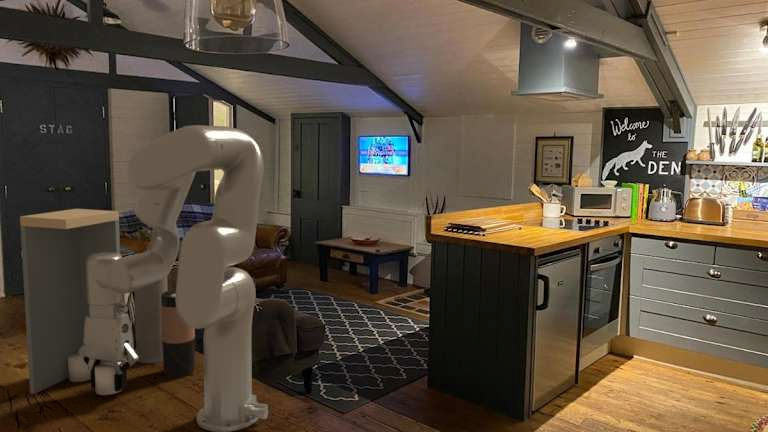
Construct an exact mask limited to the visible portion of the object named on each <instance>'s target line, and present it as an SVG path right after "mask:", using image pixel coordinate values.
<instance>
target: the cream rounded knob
mask: <svg viewBox="0 0 768 432" xmlns="http://www.w3.org/2000/svg"><path fill="white" fill-rule="evenodd" d="M68 374H69V377H68V381H70V382H72V383H79V382H80V383H81V382H82V383H83V382H87V381H89V380H90V381H91V370H88V365H87V364H86V363H85V361H84V358H82V357H81V356H80V355H79V353H78V352H76V353H73V354H70V355H69V356H68Z"/></svg>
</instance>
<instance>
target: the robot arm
mask: <svg viewBox="0 0 768 432" xmlns="http://www.w3.org/2000/svg"><path fill="white" fill-rule="evenodd" d="M264 163H265V162H264V158H263V154H262V151H261V148H260V146H259V145H258V144H257V141H256V140H255V139H254V138H252V137H251V135H249V134H248V133H246V132H245V131H243V130H241V129H239V128H235V127H230V126H226V125H225V126H223V125H201V124H200V125H199V124H198V125H195V124H193V125H185V126H182V127H181V128H178V129H174V130H173V131H171V132H169V133H166V134H165V135H162V136H161V137H158V138H156V139H154V140H152V141H149V142H148V143H146V144H143V145H141V146H140V147H139V148H137V149H136V150H135V151H134V152H133V153H132V155H131V156H130V158H129V160H128V164H127V169H126V170H127V176H128V179H129V181H130V182H131V183H132V185H133V186H135V187H136V188H137V189H140V190H141V192H140V194H139V197H138V198H137V202H136V205H135V207H134V214H135V216H136V218H137V219H138V220H139V221H141V222H142V223H143V224H145V225H147V226H149V227H151V228H152V235H151V239H150V241H149V244H148V246H147V249H146V251H145V252H140V253H136V254H132V255H129V256H125V257H123V256H122V255H121V253H120V254H118V253H111V252H105V253H96V254H92V255H90V256H89V257H87V259H86V288H87V313H88V314H87V315H86V318H85V324H84V335H83V346H82V347H81V348H80V349H79V351H78V353H79V355H80V356H81V357H82V358H84V361H85V363H86V364H87V365H88V370H91V379H90V387H91V388H93V389H94V388H95V366H97V365H99V364H101V362H102V360H105V361H112V362H113V363H114V366H115V369H116V372H117V374H115V375H114V381H115V391H117V392H118V393H120V392H121V391H123V390H124V389H125V388H127V386H128V373H127V372H128V371H129V370H130V369H131V368H132V366H133V365H134V364H135V363H137V362H138V359H139V358H138V356H137V353H136V352H135V347H134V346H135V344H134V342H135V341H134V334H133V327H132V322H131V319H130V316H129V314H128V313H127V312H128V310H129V306H127V305H126V300H125V299H126V297H125V296H126V295H125V294H130V293H135V292H134V291H137V290H140V289H142V288H145V287H149V286H152V285H155V284H158V283H160V282H161V281H163V280H164V279H165V278H166V277H167V278H168V275H169V274H170V272H171V271H172V268H173V267H174V266H173V265H174V264H175V261H176V259H177V257H178V265H177V272H176V273H177V275H176V284H175V292H176V297H175V300H176V309H177V312H178V315H179V317H180V318H181V320H182V321H183V322H184V323H185V324H186V325H188V326H190V327H192V328H195V329H198V330H199V329H204V331H203V341H202V342H203V347H202V348H203V389H204V390H203V391H204V392H203V394H204V396H203V399H204V406H203V408H201V409H200V410H199V411H198V412H197V414H196V423H197V425H198V426H199V427H200V428H202V429H203V430H207V431H210V432H236V431H240V430H242V429H246V428H248V427H250V426H252V425H253V424H255V423H256V422H257V421H258V420H259V419H262V420H263V419H264V420H266V419H267V418H268V416H269V406H268V404H265V403H259V402H258V401H257V395H256V394H253V393H252V391H253V388H252V387H253V384H252V383H253V381H252V379H253V378H252V374H253V372H252V369H253V368H252V342H253V341H252V337H253V336H252V330H253V329H252V328H253V326H252V325H253V316H254V315H253V314H254V310H255V305H256V304H255V303H256V295H257V294H256V286H255V282H254V279H253V278H252V277H251V275H250V274H249V272H247V271H246V270H244V269H242V268H239V267H233V266H234V265H237V264H240V263H242V262H244V261H246V260H248V258H250V257H251V256H252V253H253V251H254V248H255V243H256V233H257V224H258V216H259V207H260V206H259V205H260V197H261V196H260V195H261V190H262V183H263V178H264V171H265V170H264V169H265V166H264ZM219 170H221V171H222V172H223V174H222V177H221V178H220V181H219V183H218V186H217V188H216V190H215V196H214V205H213V211H212V212H213V213H212V217H211V219H210V220H206V221H201V222H198V223H196V224H194V225H192V226H191V227H190V228H189V229H188V230H187V231H186V233H185V234H184V236H183V238H182V241H181V243H180V233H179V229H178V227H177V221H178V218H179V216H180V213H181V211H182V207H183V205H184V203H185V201H186V198H187V197H188V193H189V191H190V188H191V186H192V183H193V180H194V178H195V176H196V173H197V172H205V171H206V172H207V171H219ZM178 254H179V255H178ZM127 358H128V359H127ZM120 362H121V363H122V366H121V365H120ZM120 390H121V391H120ZM119 391H120V392H119Z"/></svg>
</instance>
